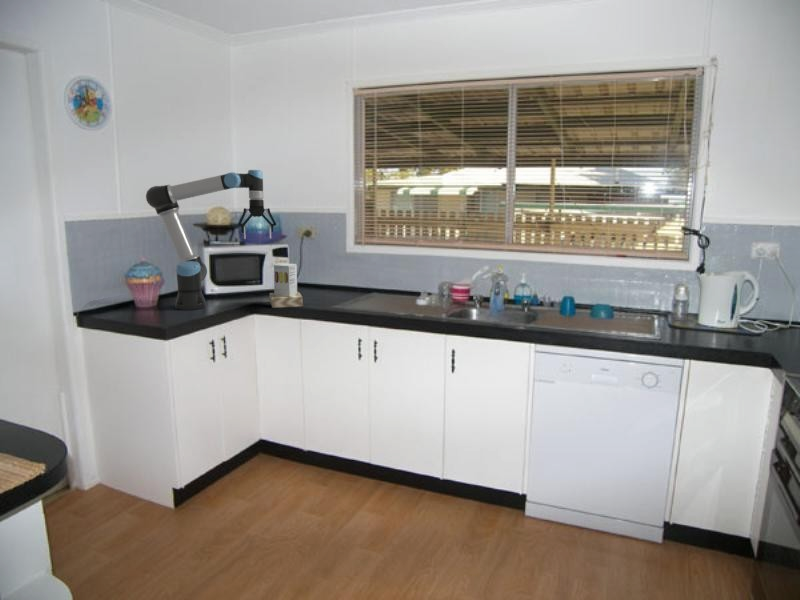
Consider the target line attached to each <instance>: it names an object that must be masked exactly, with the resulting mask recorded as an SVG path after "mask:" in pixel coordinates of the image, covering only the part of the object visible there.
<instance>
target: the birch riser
mask: <svg viewBox="0 0 800 600" xmlns="http://www.w3.org/2000/svg"><path fill="white" fill-rule="evenodd" d="M303 300H304V299H303V296H302V294H301V293H300V292H299V291H297V294H296V295H293V296H290V297H285V296H274V292H269V303H270V305H271V308H274V309H276V308H289V307H290V308H292V307H293V308H294V307H295V308H296V307H297V308H298V307H303V306H304V303H303V302H304V301H303Z"/></svg>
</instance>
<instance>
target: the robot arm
mask: <svg viewBox="0 0 800 600" xmlns="http://www.w3.org/2000/svg"><path fill="white" fill-rule="evenodd" d="M243 188H244V189H248V199H249V201H248V203H249V204H248V205H249V207H248V208H243V212H242V214H241V216H240V218H239V221H238V223H237V226H240V227H241V233H243V239H244V240H246V237H247V235H246V224H247V223H248V222H249V221H250V219H251V218H252V217H254V218H255V217H259V218H260V217H262V219H264V220H265V222H267V223H268V225H269V239H272V233H274V227H275V226H277V221H275V219H274V217H273V215H272V213H271V209H270V208H269V207H268V208H265V201H264V177H263V171H262V170H261V169H248V171H247V173H238V172H237V173H236V172H233V171H232V172H227V173H225V174H220V175H216V176H211V177H206V178H202V179H199V180H198V179H197V180H193V181H188V182H184V183H180V184H175V185H174V184H173V185H170V184H167V185H166V184H164V185H155V186H151V187H150V188H149V189H148V190H146V194H145V200H146V202H147V204H148V205H149V206H150V207H151V208H153V209H154V210H155V211H156V214H157V216H159V217H161V218H162V221H163V223H164V225H165V227H166V230H167V232H168V235H169V237H170V239H171V242H172V244H173V246H174V249H175V251H176V254H177V256H178V258H179V261H178V262H177V264H176V270H175V271H176V282H177V283H176V284H177V296H176V300H175V305H174V306H175V309H177V310H183V311H187V310H190V311H191V310H199V309H203V308H206V306H207V302H206V299H205V297H204V296H205V295H204V294H203V292H202V291H203V289H202V282H203V281H204V280H205V279H206V277H207V274H208V269H207V266H206V264H205V263H204V262H203V261H202V258H201V256H200V255H199V254H197V253H196V252H195V249H194V246H193V244H192V243H191V240H190V236H189V235H188V233H187V230H186V228H185V226H184V223H183V220H182V218H181V215H180V214H179V210H180V205H179V201H182V200H187V199H190V198H195V197H199V196H204V195H208V194H212V193H217V192H221V191H227V190H230V189H243ZM248 212H249V215H248V216H247V218H246V219H245V220H244V218H245V216H246V214H247V213H248ZM265 212H266V213H267V214H268V216H269V218H270V219H269V218H268V217H267V216H266V215H265V214H264V213H265ZM243 220H244V221H243ZM270 220H271V221H272V222H271V221H270Z"/></svg>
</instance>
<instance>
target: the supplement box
mask: <svg viewBox="0 0 800 600" xmlns="http://www.w3.org/2000/svg"><path fill="white" fill-rule="evenodd" d="M297 269H298V268H297V263H285V262H280V263H277V264H276V263H275V264H273V286H274V287H273V289H274V290H273V291H274V292H273V293H274V296H285V297H290V296H293V295H296V294H297V292H298V277H297V276H298V273H297V272H298V270H297Z"/></svg>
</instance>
